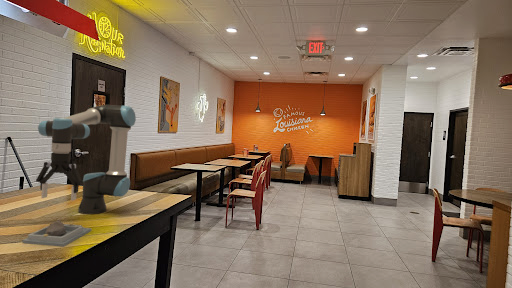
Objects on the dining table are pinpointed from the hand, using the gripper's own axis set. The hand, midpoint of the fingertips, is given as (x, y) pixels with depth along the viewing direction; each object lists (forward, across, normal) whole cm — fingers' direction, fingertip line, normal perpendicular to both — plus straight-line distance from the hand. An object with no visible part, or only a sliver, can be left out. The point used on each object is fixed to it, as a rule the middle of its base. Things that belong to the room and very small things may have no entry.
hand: (58, 198), depth 146 cm
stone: (+17, -1, +1) cm, 17 cm away
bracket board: (+18, 0, +2) cm, 18 cm away
